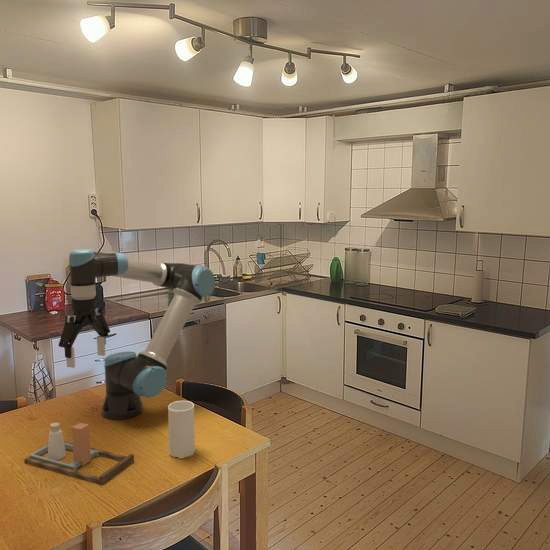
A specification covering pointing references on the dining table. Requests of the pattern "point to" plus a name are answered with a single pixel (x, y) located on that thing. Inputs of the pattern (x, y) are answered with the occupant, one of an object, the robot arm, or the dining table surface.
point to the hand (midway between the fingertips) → (86, 360)
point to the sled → (79, 448)
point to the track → (102, 479)
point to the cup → (181, 428)
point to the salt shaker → (56, 443)
